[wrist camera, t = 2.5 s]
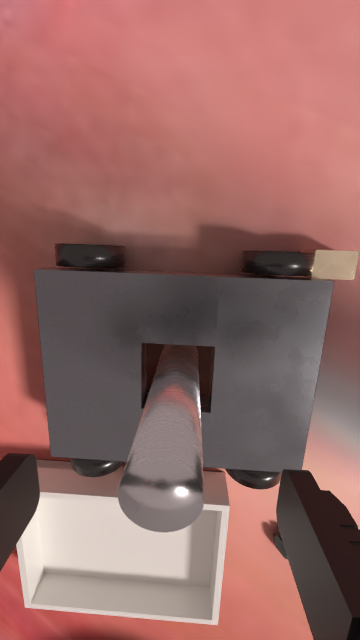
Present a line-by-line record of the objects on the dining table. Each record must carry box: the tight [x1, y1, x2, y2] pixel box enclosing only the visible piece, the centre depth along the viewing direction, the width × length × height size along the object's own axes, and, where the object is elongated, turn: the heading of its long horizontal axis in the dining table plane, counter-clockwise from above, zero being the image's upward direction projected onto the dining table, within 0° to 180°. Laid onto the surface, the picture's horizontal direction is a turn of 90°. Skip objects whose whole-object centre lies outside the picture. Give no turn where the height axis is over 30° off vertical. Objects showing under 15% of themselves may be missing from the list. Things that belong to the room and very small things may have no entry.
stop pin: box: [118, 344, 204, 532], centre depth 14 cm, size 3×3×12 cm
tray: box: [16, 460, 230, 625], centre depth 22 cm, size 16×12×3 cm
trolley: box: [34, 244, 359, 489], centre depth 18 cm, size 18×15×4 cm
